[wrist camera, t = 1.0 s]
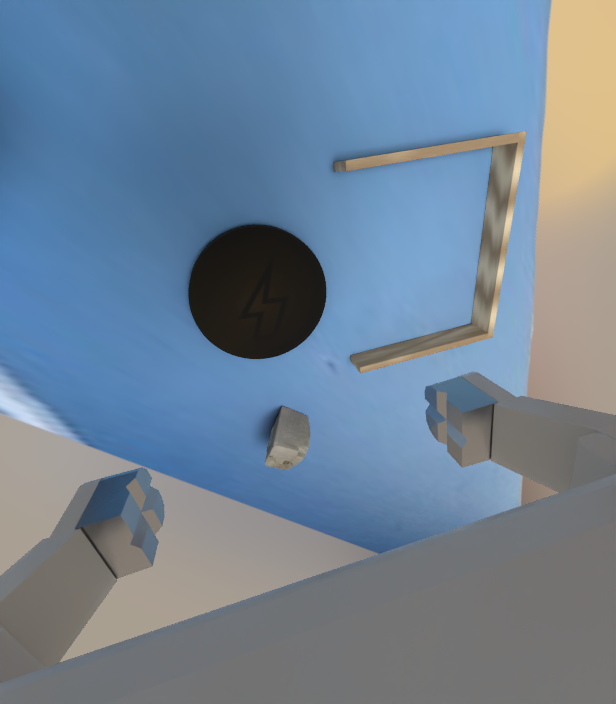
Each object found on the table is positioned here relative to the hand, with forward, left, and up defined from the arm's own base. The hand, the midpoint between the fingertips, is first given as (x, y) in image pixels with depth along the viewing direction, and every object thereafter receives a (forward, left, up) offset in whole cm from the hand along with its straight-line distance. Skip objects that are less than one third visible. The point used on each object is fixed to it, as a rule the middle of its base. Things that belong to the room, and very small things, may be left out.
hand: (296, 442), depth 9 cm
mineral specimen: (+31, +1, -36) cm, 47 cm away
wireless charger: (+8, +2, -36) cm, 37 cm away
